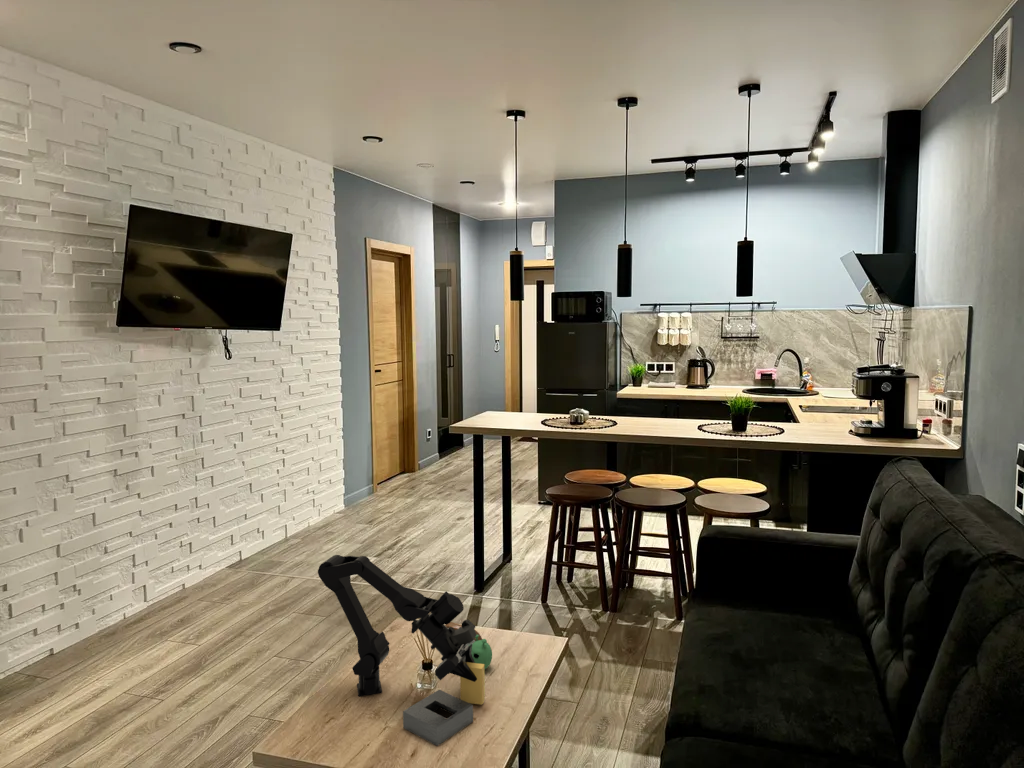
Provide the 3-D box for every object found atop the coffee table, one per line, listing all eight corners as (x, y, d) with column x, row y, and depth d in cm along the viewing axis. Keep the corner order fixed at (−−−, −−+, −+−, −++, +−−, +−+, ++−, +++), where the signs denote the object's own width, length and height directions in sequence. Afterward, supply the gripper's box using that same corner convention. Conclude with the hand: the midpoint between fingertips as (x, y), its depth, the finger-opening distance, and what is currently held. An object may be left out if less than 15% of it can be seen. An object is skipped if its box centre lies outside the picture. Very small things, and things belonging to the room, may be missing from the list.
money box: (403, 728, 177) (402, 711, 177) (439, 705, 187) (439, 689, 187) (437, 746, 170) (436, 728, 169) (473, 721, 180) (472, 704, 179)
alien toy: (462, 668, 207) (461, 636, 206) (483, 660, 211) (483, 628, 210) (475, 678, 201) (474, 645, 200) (497, 670, 206) (496, 637, 205)
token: (460, 701, 188) (460, 666, 187) (463, 696, 190) (463, 661, 189) (482, 704, 186) (481, 668, 185) (484, 699, 189) (484, 664, 188)
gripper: (446, 630, 178) (488, 677, 176) (468, 601, 196) (506, 643, 194) (417, 657, 180) (458, 703, 179) (441, 625, 198) (479, 667, 197)
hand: (477, 677), depth 187 cm, fingers closed on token, 2 cm apart
